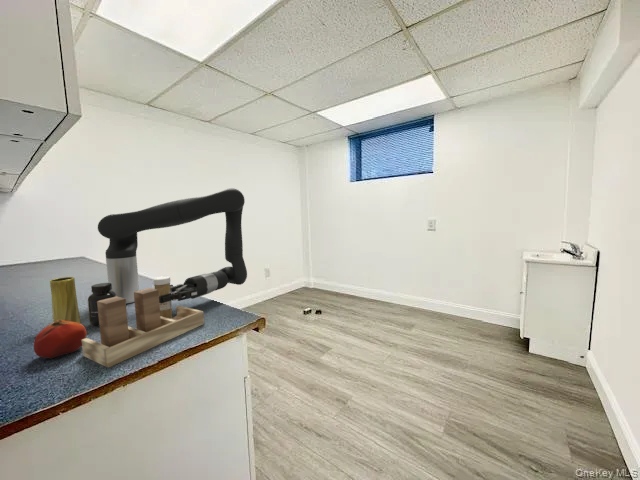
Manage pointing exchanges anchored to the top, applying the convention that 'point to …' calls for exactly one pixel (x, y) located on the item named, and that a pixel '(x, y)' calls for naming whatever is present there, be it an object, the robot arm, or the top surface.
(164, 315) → the spice jar
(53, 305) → the vase
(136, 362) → the top surface
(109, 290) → the supplement bottle
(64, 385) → the top surface
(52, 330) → the tomato
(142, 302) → the rail rack
